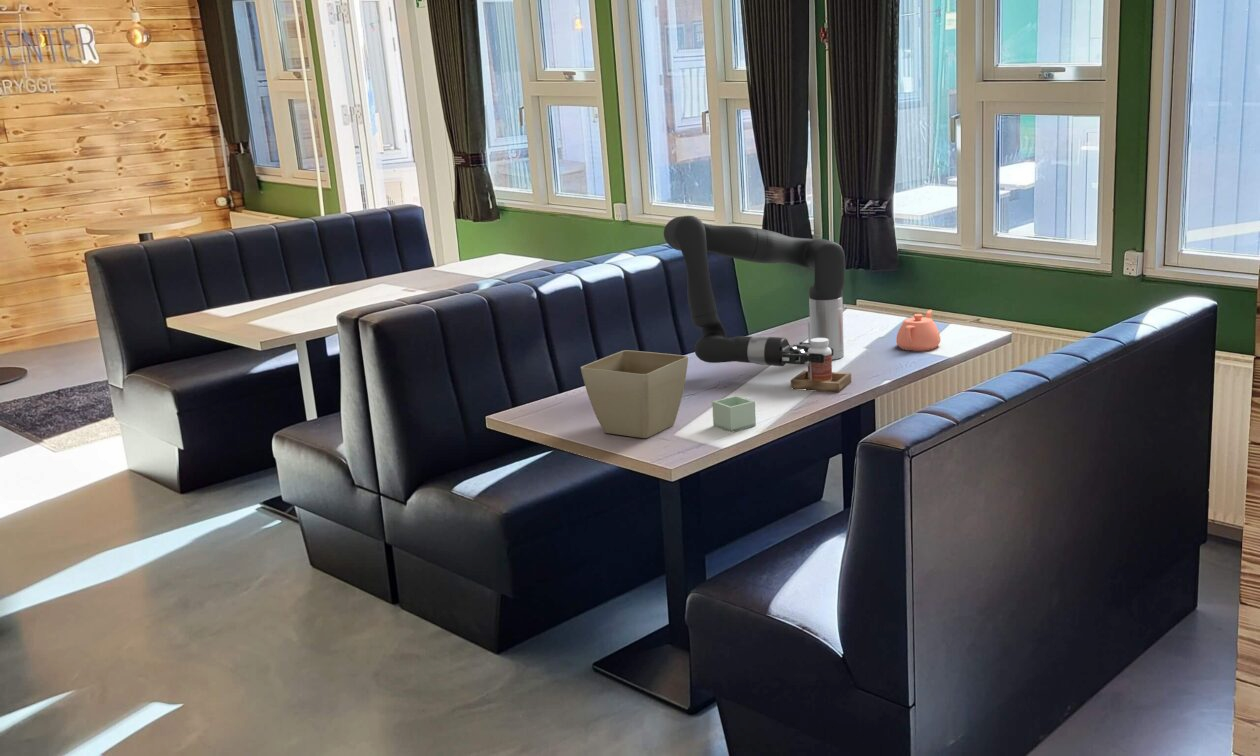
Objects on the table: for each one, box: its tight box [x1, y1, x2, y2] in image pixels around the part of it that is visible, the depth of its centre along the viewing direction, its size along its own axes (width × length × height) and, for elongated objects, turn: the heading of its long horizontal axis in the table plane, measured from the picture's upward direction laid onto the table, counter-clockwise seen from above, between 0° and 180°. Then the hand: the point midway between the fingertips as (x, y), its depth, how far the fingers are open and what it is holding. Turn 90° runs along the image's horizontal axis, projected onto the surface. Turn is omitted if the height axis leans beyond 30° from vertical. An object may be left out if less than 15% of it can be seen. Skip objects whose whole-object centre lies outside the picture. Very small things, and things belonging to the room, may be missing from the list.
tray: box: [790, 369, 852, 393], centre depth 320 cm, size 13×10×2 cm
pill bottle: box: [807, 338, 833, 382], centre depth 318 cm, size 6×6×11 cm
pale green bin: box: [711, 395, 757, 433], centre depth 291 cm, size 7×7×6 cm
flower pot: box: [580, 349, 689, 439], centre depth 292 cm, size 19×19×17 cm
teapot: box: [895, 309, 941, 352], centre depth 352 cm, size 12×18×10 cm
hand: (828, 355), depth 317 cm, fingers closed on pill bottle, 6 cm apart
